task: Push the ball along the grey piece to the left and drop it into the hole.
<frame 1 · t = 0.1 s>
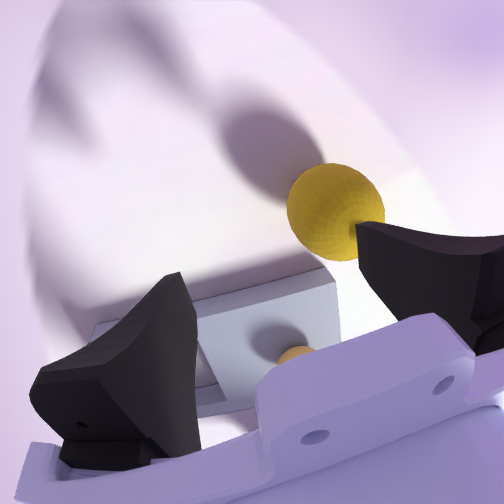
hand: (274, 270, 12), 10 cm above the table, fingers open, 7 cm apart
lemon: (313, 193, 21), on the table
ball: (295, 354, 24), point 2 cm above the table, touching grey piece
grey piece: (224, 352, 26), on the table
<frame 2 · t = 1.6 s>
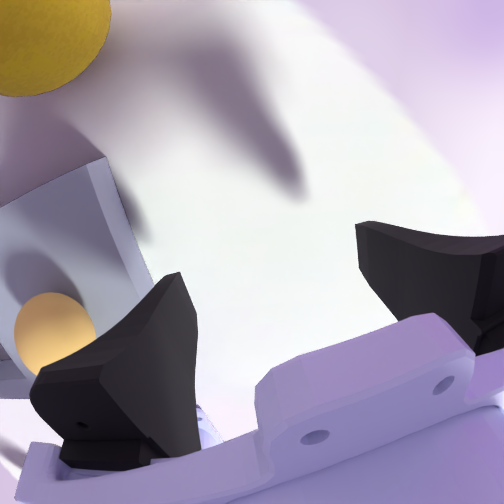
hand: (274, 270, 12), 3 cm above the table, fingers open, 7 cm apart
lemon: (79, 45, 10), on the table
ball: (69, 312, 13), point 2 cm above the table, touching grey piece
grey piece: (17, 306, 15), on the table
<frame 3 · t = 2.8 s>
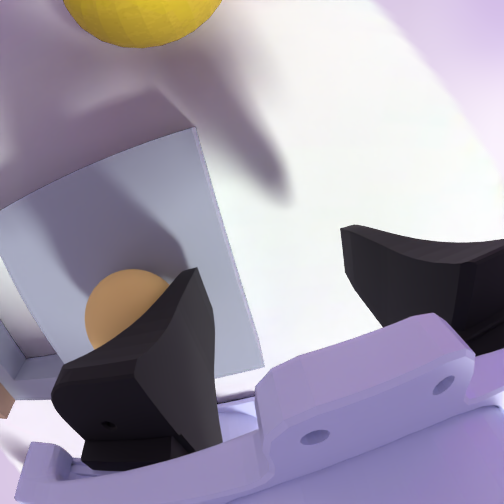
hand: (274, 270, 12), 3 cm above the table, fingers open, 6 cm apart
lemon: (165, 12, 10), on the table
ball: (146, 293, 13), point 2 cm above the table, touching grey piece, gripper
grey piece: (64, 294, 15), on the table
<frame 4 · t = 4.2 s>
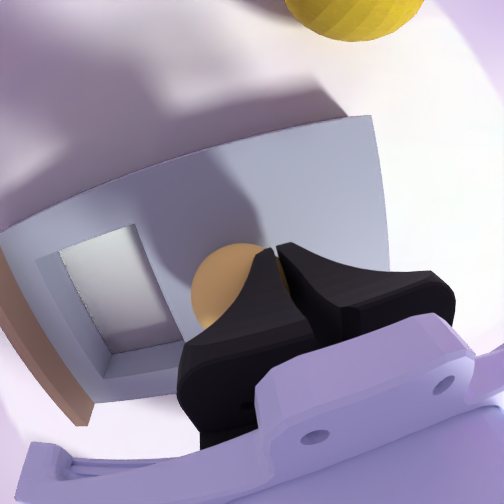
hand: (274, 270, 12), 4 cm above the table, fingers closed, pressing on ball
lemon: (318, 12, 12), on the table
ball: (294, 293, 12), point 5 cm above the table, tilted 99°, touching grey piece, gripper
grey piece: (190, 274, 16), on the table
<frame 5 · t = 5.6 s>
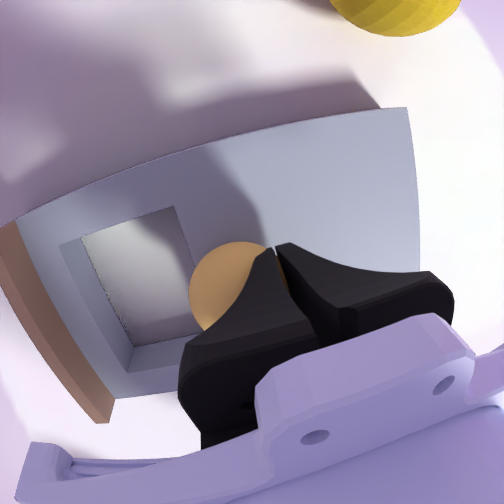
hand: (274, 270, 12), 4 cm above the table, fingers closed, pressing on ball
lemon: (351, 7, 11), on the table
ball: (272, 324, 10), point 6 cm above the table, tilted 151°, touching grey piece, gripper
grey piece: (223, 261, 16), on the table
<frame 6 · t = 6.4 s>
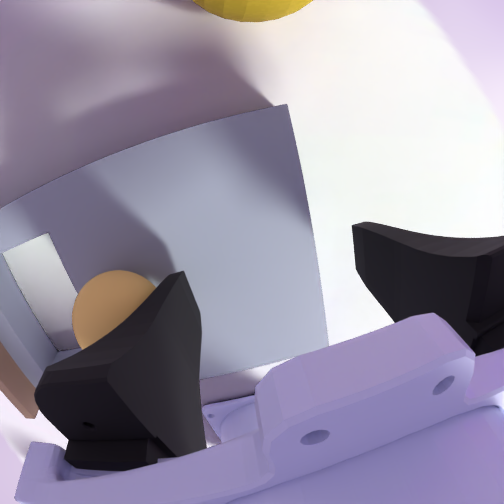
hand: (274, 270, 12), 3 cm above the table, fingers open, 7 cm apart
ball: (158, 345, 10), point 5 cm above the table, tilted 123°, touching grey piece, gripper
grey piece: (114, 278, 15), on the table
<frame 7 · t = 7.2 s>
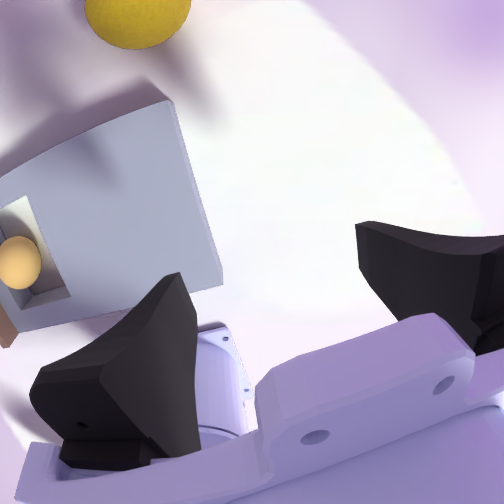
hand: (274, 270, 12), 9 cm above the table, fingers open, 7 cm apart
lemon: (153, 23, 15), on the table
ball: (24, 267, 20), point 1 cm above the table, tilted 42°
grey piece: (71, 231, 20), on the table
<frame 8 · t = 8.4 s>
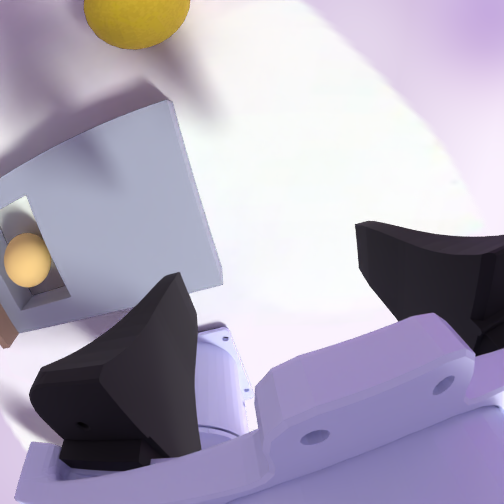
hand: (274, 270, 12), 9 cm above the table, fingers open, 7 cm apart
lemon: (152, 23, 15), on the table
ball: (24, 270, 19), point 1 cm above the table, tilted 66°
grey piece: (71, 231, 20), on the table
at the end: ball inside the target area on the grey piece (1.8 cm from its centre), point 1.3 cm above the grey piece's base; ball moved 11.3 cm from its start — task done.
